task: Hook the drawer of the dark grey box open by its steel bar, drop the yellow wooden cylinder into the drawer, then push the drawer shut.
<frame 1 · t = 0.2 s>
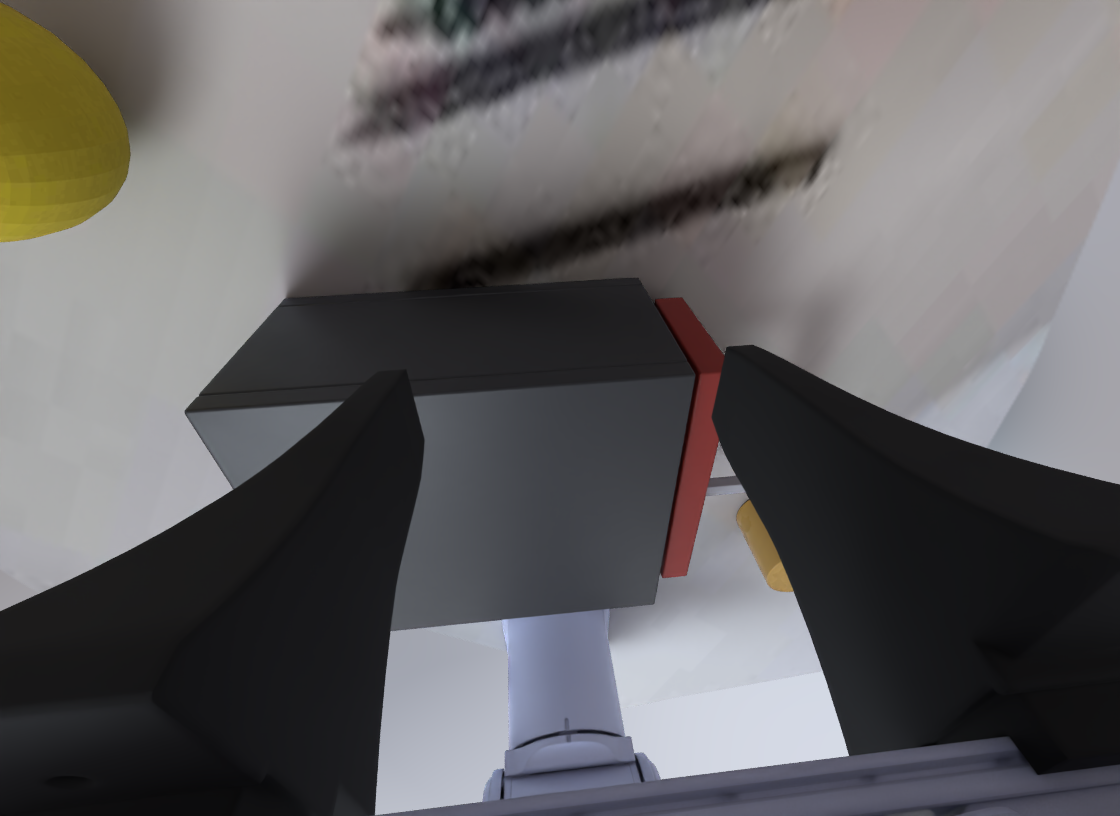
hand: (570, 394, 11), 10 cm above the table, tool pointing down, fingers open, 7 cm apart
drawer: (588, 452, 21), point 4 cm above the table, slide at 0.5 cm
yellow wooden cylinder: (766, 511, 30), on the table
lemon: (86, 104, 15), on the table
dark grey box: (483, 407, 23), on the table
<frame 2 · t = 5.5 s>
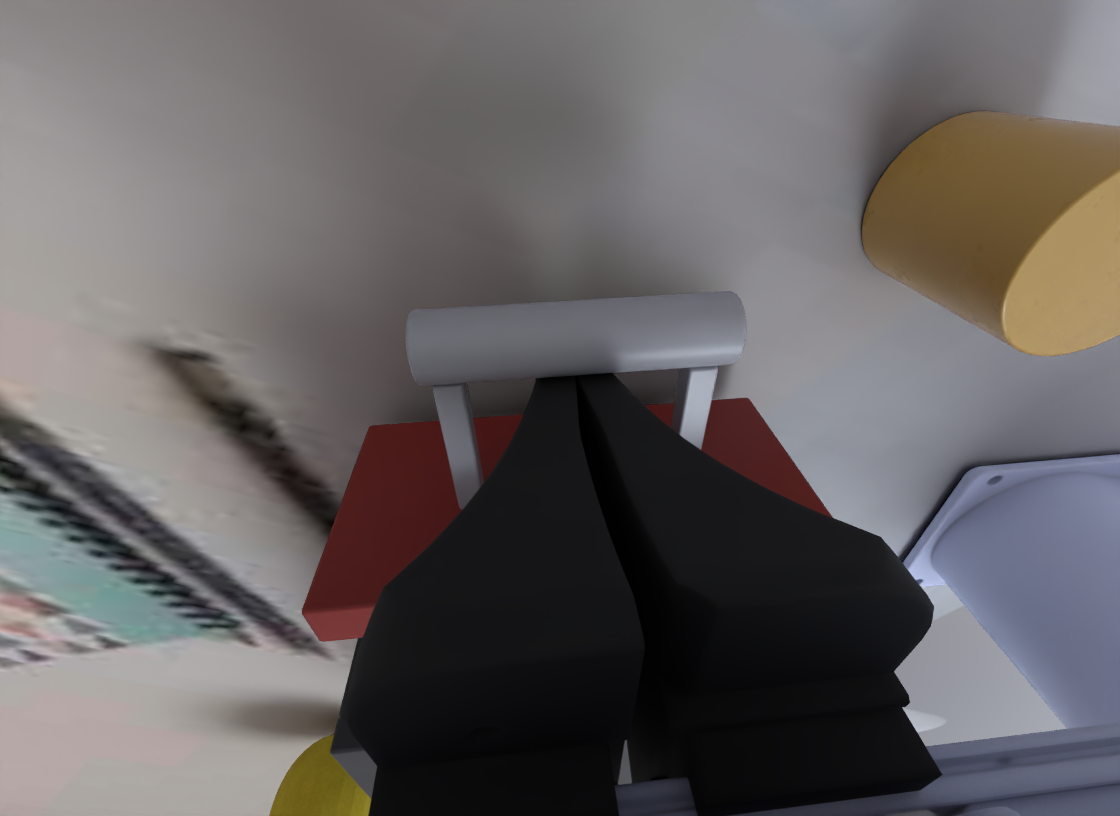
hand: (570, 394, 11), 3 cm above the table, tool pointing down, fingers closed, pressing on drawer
drawer: (575, 579, 14), point 4 cm above the table, slide at 3.3 cm, touching gripper
yellow wooden cylinder: (939, 201, 12), on the table
lemon: (350, 719, 28), on the table
dark grey box: (565, 599, 22), on the table
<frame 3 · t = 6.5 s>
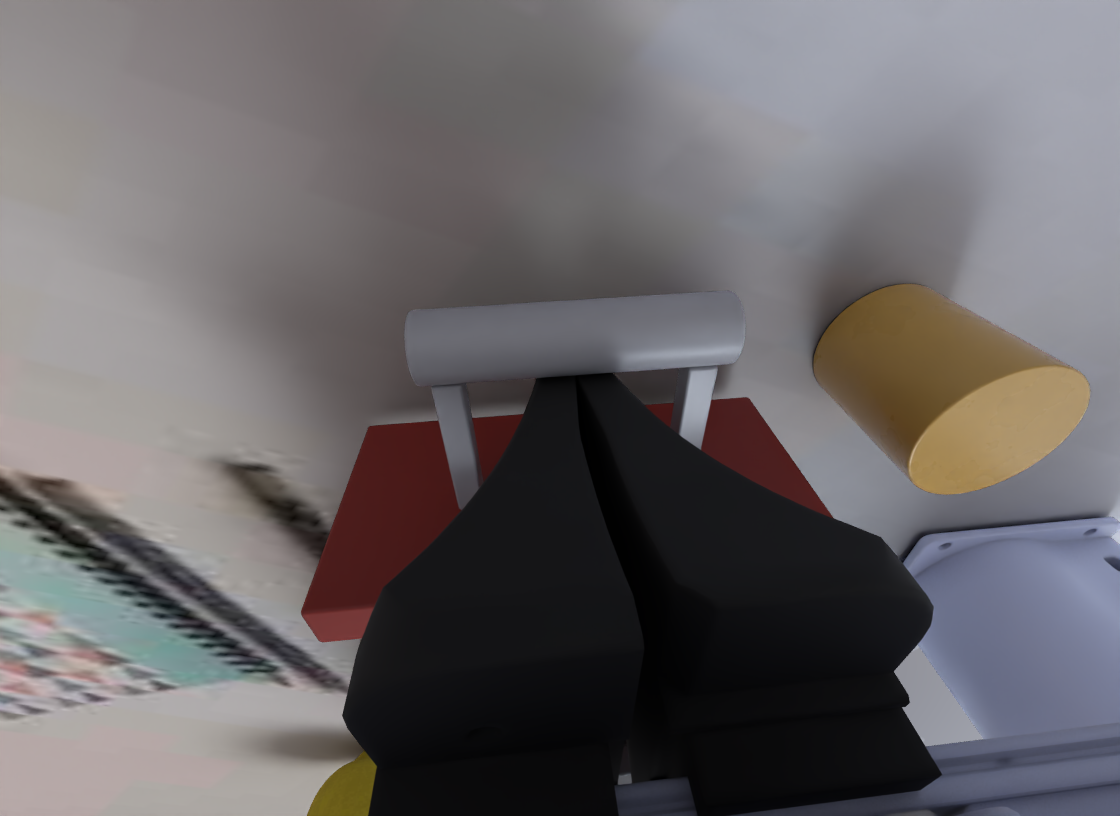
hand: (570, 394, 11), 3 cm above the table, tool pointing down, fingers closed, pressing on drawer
drawer: (575, 579, 14), point 4 cm above the table, slide at 7.5 cm, touching gripper
yellow wooden cylinder: (876, 344, 15), on the table
lemon: (370, 746, 30), on the table
dark grey box: (567, 644, 24), on the table
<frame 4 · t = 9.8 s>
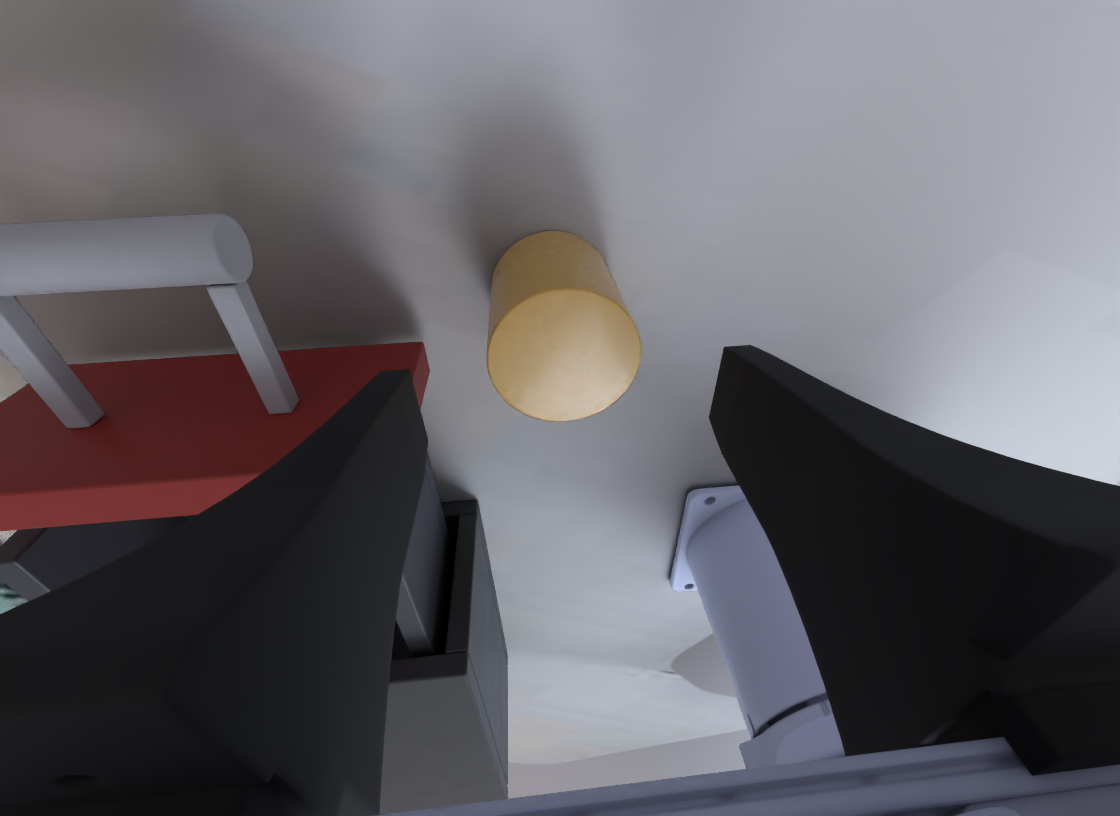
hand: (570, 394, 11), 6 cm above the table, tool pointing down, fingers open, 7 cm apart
drawer: (260, 511, 15), point 4 cm above the table, slide at 7.5 cm, touching gripper
yellow wooden cylinder: (551, 291, 16), on the table
dark grey box: (378, 601, 25), on the table
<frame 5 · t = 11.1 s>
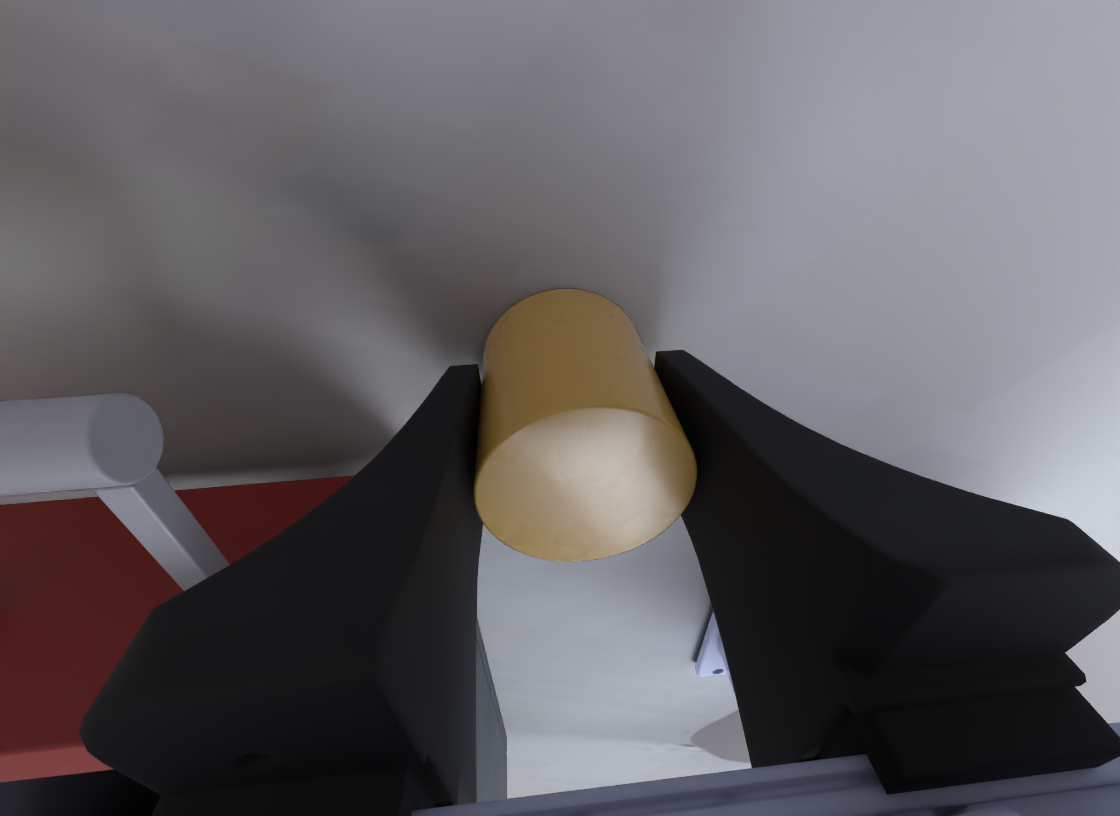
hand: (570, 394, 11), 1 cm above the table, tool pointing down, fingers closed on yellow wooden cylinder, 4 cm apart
drawer: (206, 682, 12), point 4 cm above the table, slide at 6.1 cm
yellow wooden cylinder: (562, 362, 12), on the table, touching gripper
dark grey box: (355, 693, 22), on the table
when the fingers open (6 cm above the table, at t = 15.3 s): yellow wooden cylinder drops 3 cm, resting on drawer.
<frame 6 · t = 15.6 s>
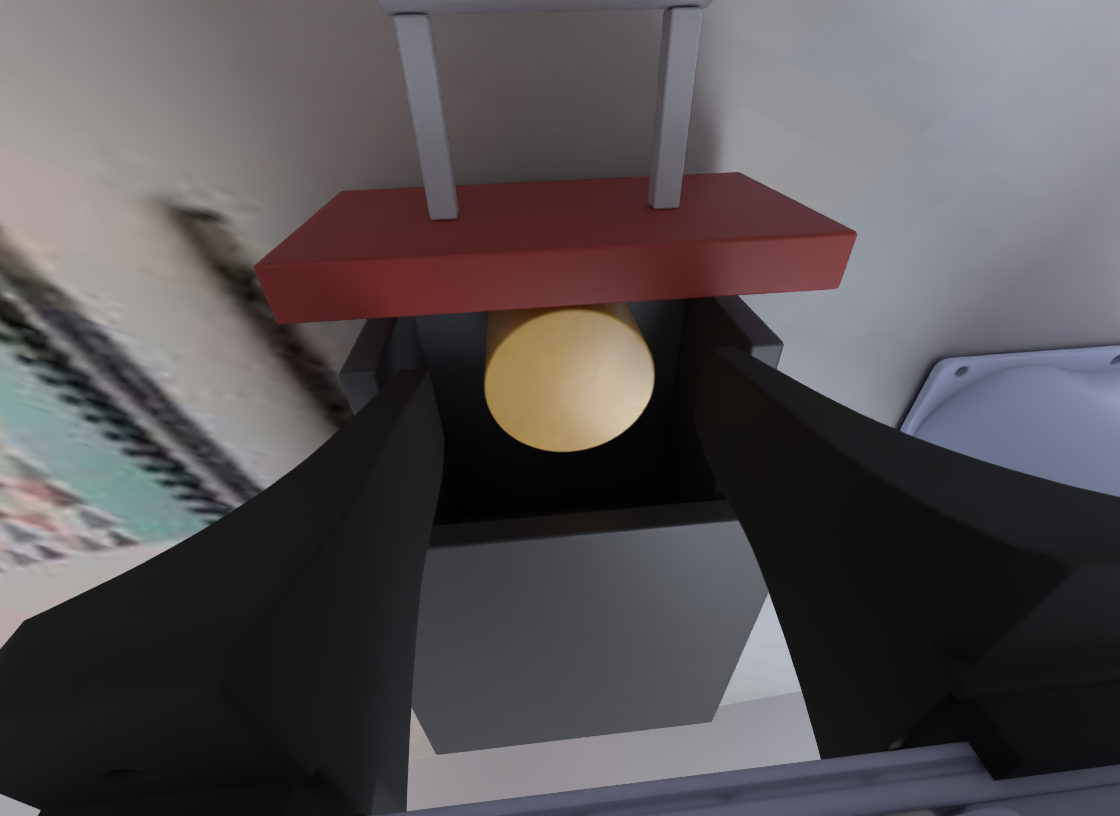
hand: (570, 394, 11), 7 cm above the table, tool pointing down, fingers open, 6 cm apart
drawer: (558, 363, 14), point 4 cm above the table, slide at 6.1 cm, touching yellow wooden cylinder
yellow wooden cylinder: (554, 306, 14), point 2 cm above the table, touching drawer
dark grey box: (557, 502, 23), on the table
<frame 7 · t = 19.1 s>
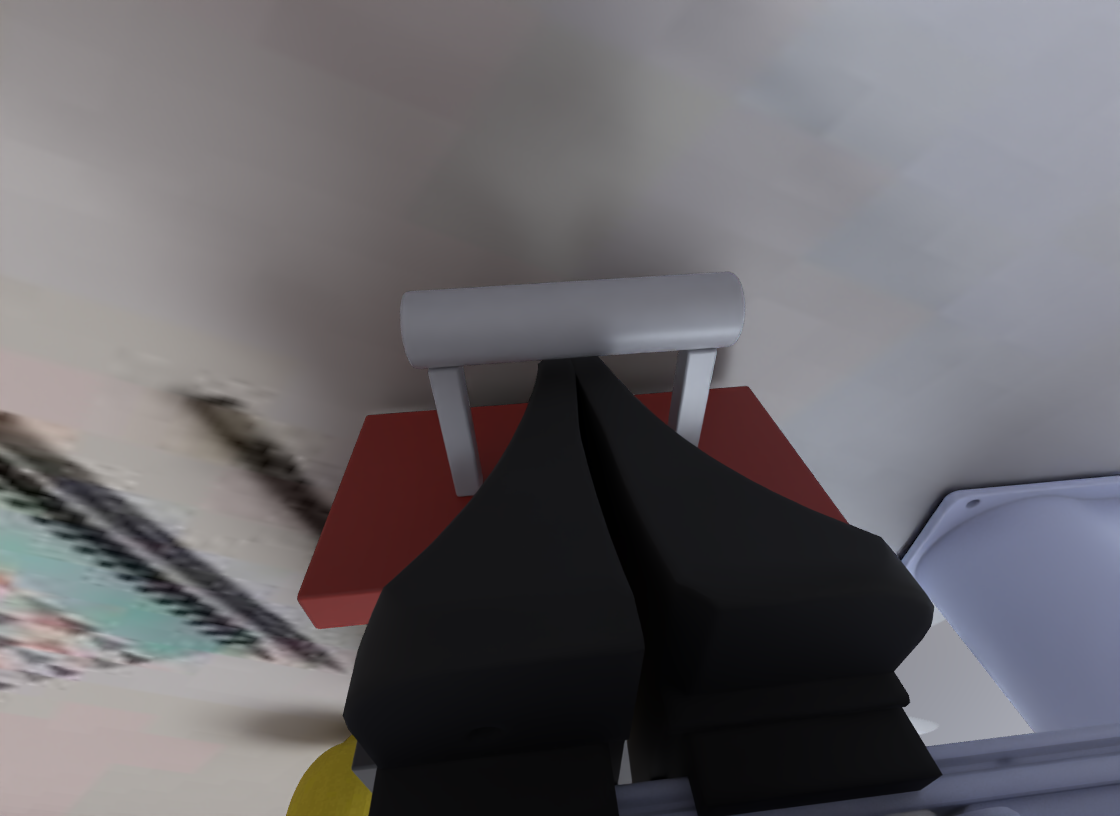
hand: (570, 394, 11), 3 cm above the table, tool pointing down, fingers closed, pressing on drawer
drawer: (574, 569, 14), point 4 cm above the table, slide at 5.2 cm, touching yellow wooden cylinder, gripper
lemon: (360, 728, 29), on the table
dark grey box: (566, 615, 23), on the table
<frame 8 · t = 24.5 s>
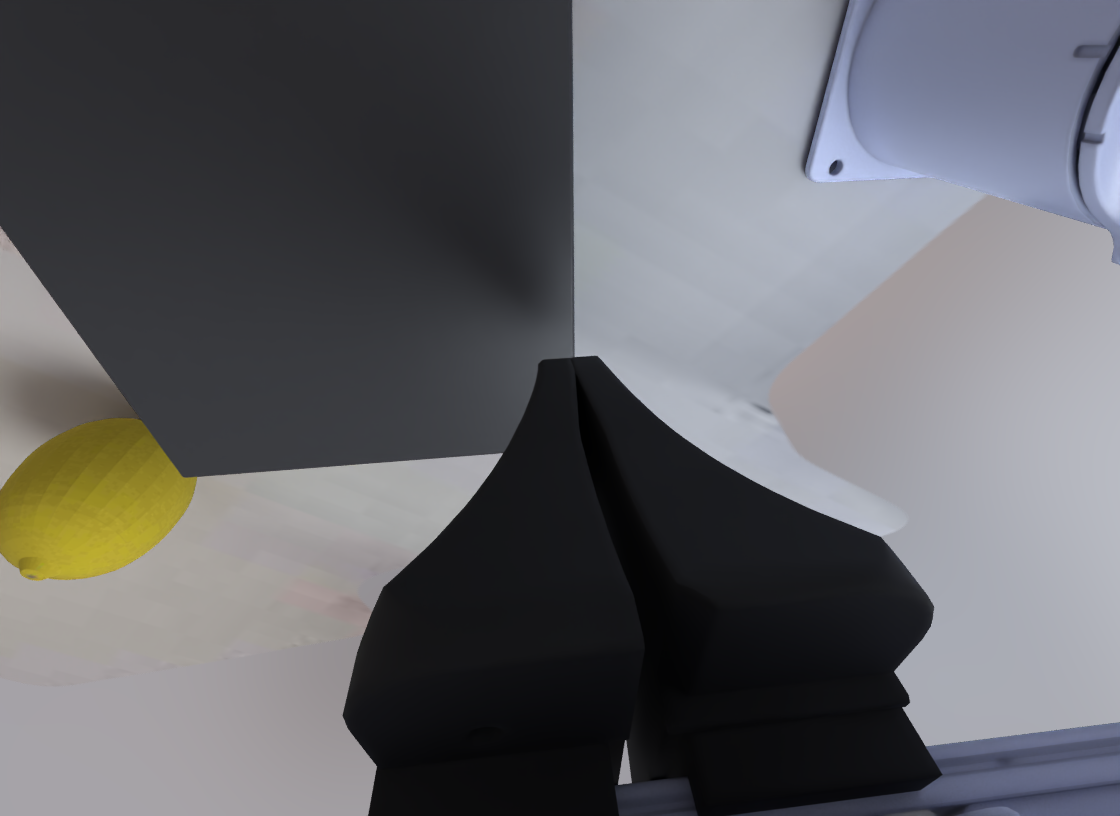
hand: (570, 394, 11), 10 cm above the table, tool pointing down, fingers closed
lemon: (166, 428, 23), on the table
dark grey box: (376, 170, 17), on the table
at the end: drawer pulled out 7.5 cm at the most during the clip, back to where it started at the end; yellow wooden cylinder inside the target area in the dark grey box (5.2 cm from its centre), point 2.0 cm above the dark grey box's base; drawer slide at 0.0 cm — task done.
